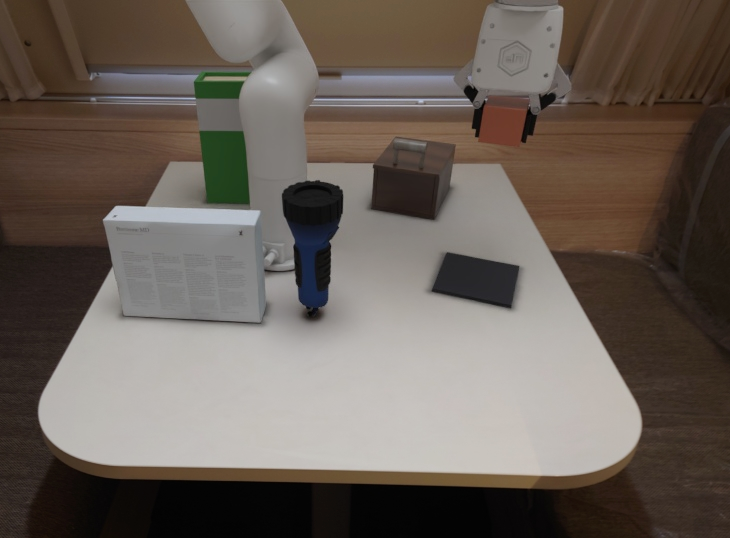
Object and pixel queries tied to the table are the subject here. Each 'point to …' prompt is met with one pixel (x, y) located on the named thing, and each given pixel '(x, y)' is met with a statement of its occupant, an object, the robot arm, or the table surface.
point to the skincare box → (188, 262)
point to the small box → (503, 120)
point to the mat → (477, 279)
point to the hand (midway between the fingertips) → (501, 135)
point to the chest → (410, 192)
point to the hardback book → (222, 136)
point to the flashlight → (313, 236)
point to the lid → (415, 157)
